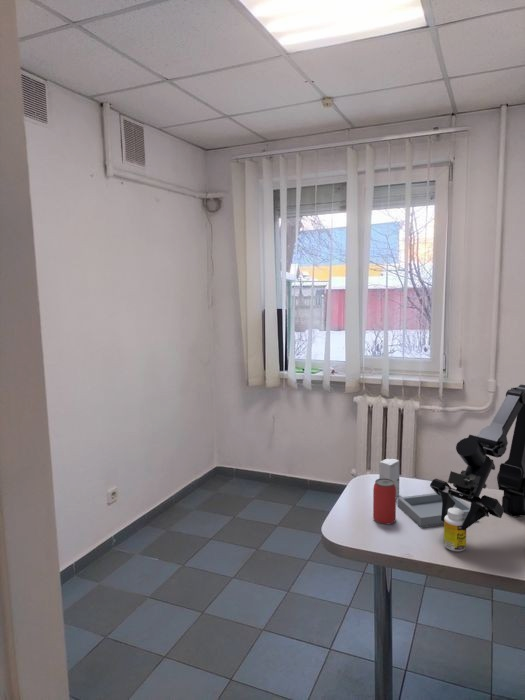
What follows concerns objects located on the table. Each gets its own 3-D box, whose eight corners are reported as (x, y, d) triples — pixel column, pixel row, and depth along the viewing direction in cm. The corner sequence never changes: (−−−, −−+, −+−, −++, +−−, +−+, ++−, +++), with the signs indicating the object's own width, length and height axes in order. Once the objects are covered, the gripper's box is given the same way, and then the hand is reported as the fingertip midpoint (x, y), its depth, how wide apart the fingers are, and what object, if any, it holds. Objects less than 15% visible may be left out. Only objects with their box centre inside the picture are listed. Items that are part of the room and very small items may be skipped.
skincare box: (390, 500, 159) (390, 465, 157) (378, 496, 162) (378, 461, 160) (400, 494, 163) (400, 460, 161) (388, 491, 166) (388, 457, 165)
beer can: (399, 519, 146) (400, 481, 145) (388, 527, 141) (389, 488, 140) (380, 512, 151) (380, 475, 149) (369, 520, 146) (369, 482, 144)
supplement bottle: (457, 554, 126) (458, 517, 125) (439, 545, 131) (440, 509, 129) (470, 548, 129) (471, 511, 128) (452, 539, 134) (453, 504, 132)
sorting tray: (448, 500, 158) (448, 491, 158) (475, 520, 144) (476, 510, 144) (397, 506, 154) (397, 497, 154) (420, 527, 141) (420, 517, 140)
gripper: (434, 450, 136) (409, 499, 131) (499, 470, 122) (474, 525, 117) (449, 470, 142) (426, 517, 137) (514, 491, 127) (490, 544, 122)
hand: (452, 525), depth 128 cm, fingers closed on supplement bottle, 5 cm apart
